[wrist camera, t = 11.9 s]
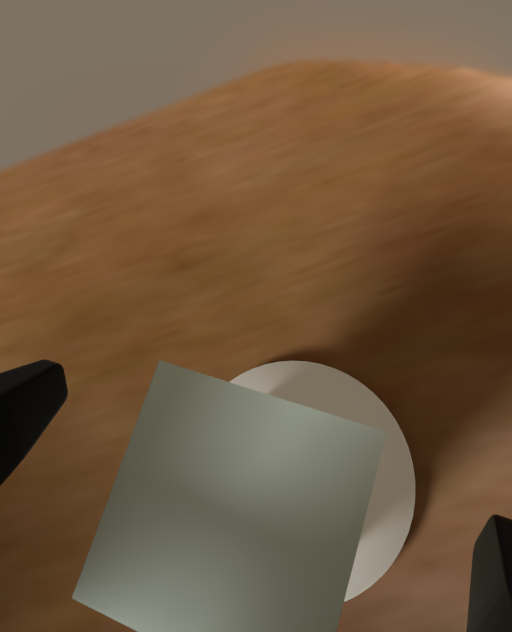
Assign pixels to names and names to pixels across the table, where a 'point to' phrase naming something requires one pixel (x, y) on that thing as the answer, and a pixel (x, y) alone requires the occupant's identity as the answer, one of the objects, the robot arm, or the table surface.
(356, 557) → the coaster
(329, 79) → the table surface
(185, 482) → the sage block
